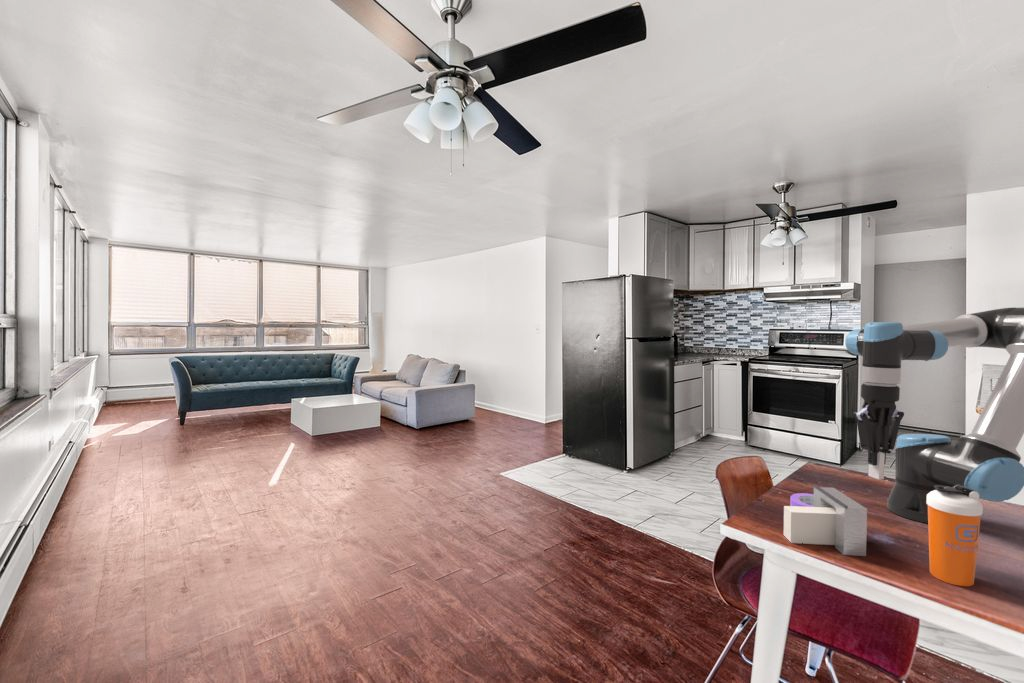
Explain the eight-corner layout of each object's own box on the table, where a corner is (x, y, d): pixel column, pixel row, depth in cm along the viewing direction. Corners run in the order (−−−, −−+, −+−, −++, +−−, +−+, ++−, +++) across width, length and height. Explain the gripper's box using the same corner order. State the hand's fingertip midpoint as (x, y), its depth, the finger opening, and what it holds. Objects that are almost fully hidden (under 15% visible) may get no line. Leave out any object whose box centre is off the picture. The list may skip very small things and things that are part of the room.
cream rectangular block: (849, 538, 119) (850, 507, 119) (859, 546, 115) (859, 514, 115) (783, 535, 122) (783, 505, 121) (790, 543, 117) (791, 511, 117)
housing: (832, 529, 125) (833, 485, 124) (866, 556, 110) (867, 506, 110) (812, 528, 125) (813, 484, 125) (844, 555, 111) (845, 506, 110)
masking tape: (846, 516, 133) (846, 503, 133) (822, 525, 128) (822, 511, 127) (805, 502, 143) (805, 490, 143) (781, 510, 138) (781, 497, 138)
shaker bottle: (913, 567, 105) (915, 481, 104) (949, 565, 106) (951, 479, 105) (953, 590, 96) (956, 496, 95) (992, 588, 97) (996, 494, 96)
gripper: (886, 381, 120) (882, 471, 121) (844, 382, 117) (840, 474, 118) (917, 385, 112) (912, 481, 113) (873, 386, 110) (868, 484, 111)
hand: (875, 477), depth 116 cm, fingers closed
